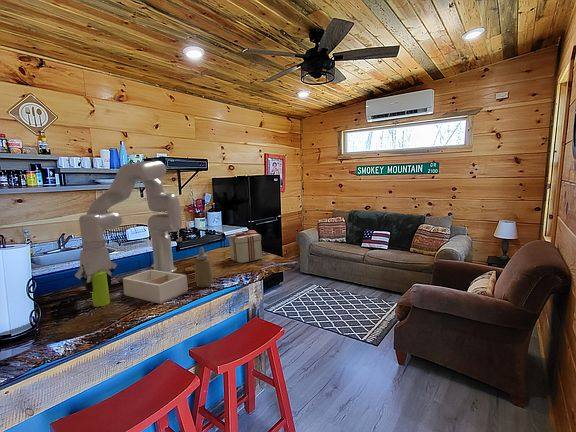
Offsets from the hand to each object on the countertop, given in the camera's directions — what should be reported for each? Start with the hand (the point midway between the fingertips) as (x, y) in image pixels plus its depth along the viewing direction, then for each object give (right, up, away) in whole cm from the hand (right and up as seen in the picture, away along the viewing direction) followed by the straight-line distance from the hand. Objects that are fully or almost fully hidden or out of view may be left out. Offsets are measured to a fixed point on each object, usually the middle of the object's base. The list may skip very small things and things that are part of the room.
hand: (99, 287), depth 124 cm
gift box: (+50, +3, +61) cm, 79 cm away
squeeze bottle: (+38, -3, +17) cm, 42 cm away
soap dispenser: (0, -7, +1) cm, 7 cm away
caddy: (+19, -5, +9) cm, 22 cm away
